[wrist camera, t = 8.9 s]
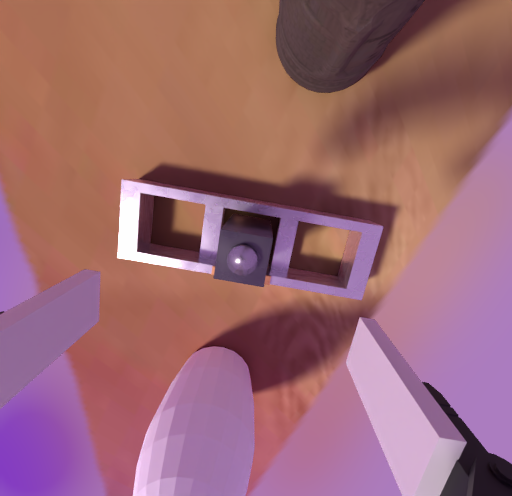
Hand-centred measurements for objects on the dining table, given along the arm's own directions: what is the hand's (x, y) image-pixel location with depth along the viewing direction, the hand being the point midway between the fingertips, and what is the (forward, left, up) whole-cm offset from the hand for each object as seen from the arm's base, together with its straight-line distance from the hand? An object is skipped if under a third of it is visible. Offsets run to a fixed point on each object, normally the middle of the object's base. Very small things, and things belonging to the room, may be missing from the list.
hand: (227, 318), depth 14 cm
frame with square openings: (0, 0, -21) cm, 21 cm away
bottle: (+20, -1, -21) cm, 29 cm away
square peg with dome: (0, 0, -21) cm, 21 cm away
